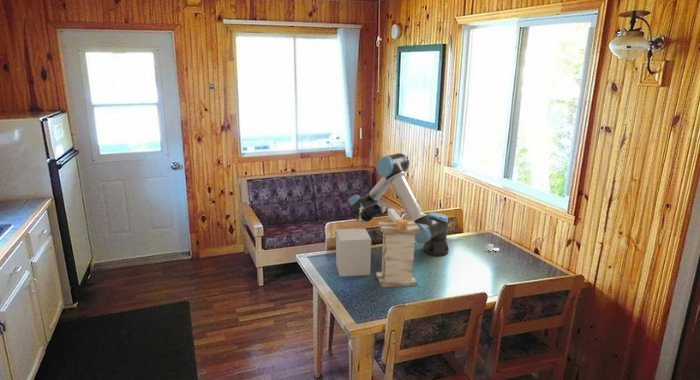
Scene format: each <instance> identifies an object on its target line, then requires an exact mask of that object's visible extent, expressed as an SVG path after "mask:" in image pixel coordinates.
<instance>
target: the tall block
mask: <svg viewBox="0 0 700 380" xmlns="http://www.w3.org/2000/svg"><path fill="white" fill-rule="evenodd" d="M335 231H336V232H335V265H336V269H337V272H338V274H339V275H338V276H339V277H357V276H358V277H359V276H369V275H371V265H372V264H371V260H372V259H371V257H372V256H371V255H372V238H371V236H370V234H369V233H368V231H367V229H366V228H365V227H364V228H362V227H361V228H344V229H343V228H342V229H341V228H340V229H338V228H337V229H335Z"/></svg>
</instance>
